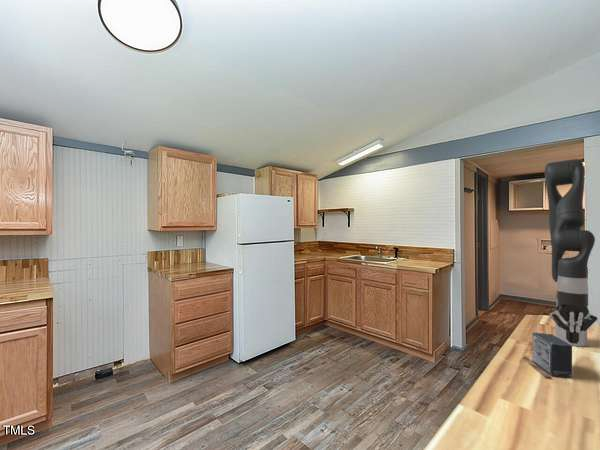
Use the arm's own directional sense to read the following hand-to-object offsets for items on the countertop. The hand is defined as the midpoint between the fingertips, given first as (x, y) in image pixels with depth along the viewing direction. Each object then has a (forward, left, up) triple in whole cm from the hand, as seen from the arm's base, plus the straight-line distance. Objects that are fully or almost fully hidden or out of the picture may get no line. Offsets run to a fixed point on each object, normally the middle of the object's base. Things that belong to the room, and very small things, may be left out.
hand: (572, 342), depth 96 cm
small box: (0, -6, -10) cm, 11 cm away
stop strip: (0, -10, -10) cm, 14 cm away
